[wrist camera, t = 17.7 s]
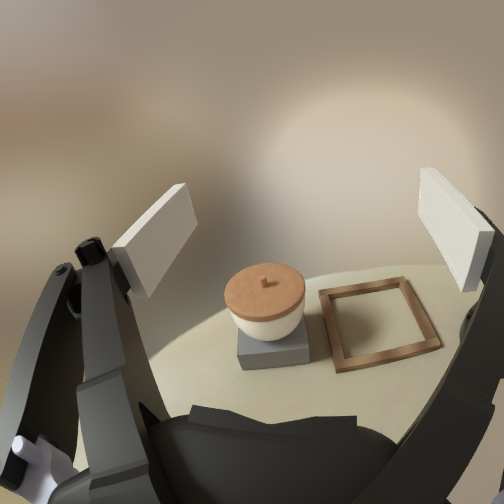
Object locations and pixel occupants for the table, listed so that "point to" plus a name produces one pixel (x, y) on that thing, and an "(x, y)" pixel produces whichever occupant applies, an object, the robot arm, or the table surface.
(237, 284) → the lidded jar
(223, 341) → the table surface
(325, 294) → the walnut collar
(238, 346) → the gray stand
